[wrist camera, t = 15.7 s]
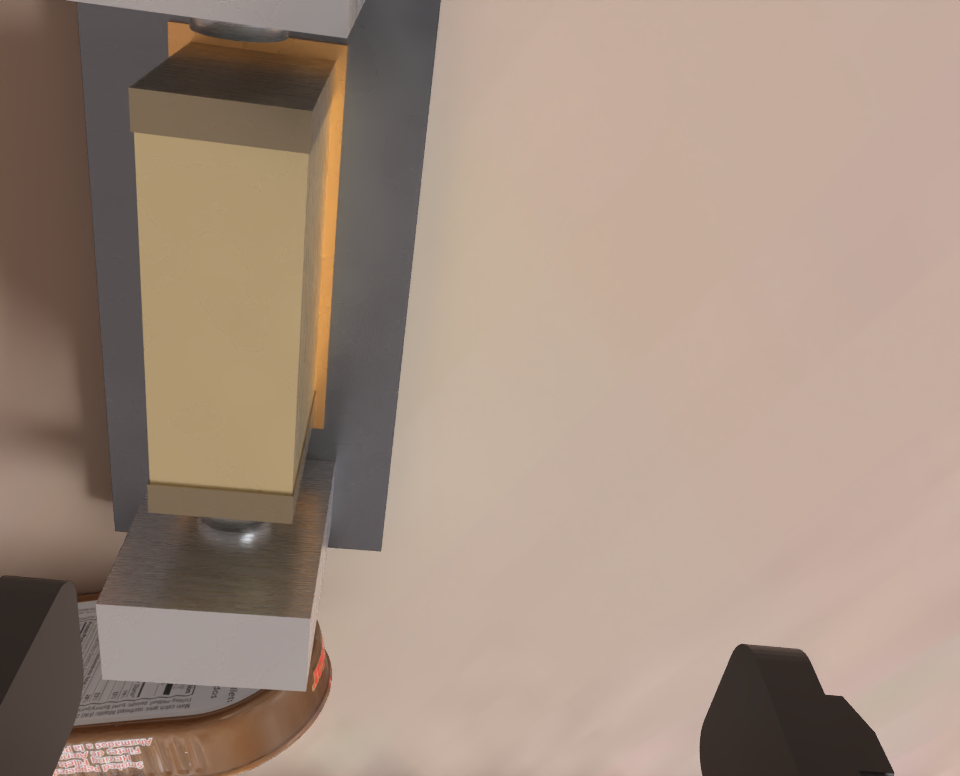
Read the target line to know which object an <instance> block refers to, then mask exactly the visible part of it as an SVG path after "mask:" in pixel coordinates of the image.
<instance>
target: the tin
mask: <svg viewBox="0 0 960 776" xmlns="http://www.w3.org/2000/svg"><path fill="white" fill-rule="evenodd" d="M100 594H101V593H94V594H84V595H77V603H78V613H79V624H80V635H81V646H82V657H83V668H84V680H83V689H82V696H81V701H80V705H79V710H78V713H77V717H76V720H75V723H74V725H73V728H72V730H71V733H70V735H69V738H68V740H67V742H66V745H65V747H64V749H63V752H62V754H61V757H60V759H59V761H58V764H57V766H56V769H55V771H54V773H53V776H235V775H238V774H241V773H243V772H246V771H249V770H251V769H253V768H255V767H258V766H259V765H261V764H263V763H265V762H267V761H268V760H270V759H272V758H274V757H275V756H277V755H278V754H280V753H281V752H282V751H284V750H286V749H287V748H288V747H290V746H291V745H292V744H293V743H294V742H295V741H296V740H298V739H299V738H300V737H301V736H302V735H303V734H304V733H305V732H306V731H307V730H308V729H309V727H310V726H311V725H312V724H313V723H314V721H315V720H316V718H317V717H318V715H319V713H320V712H321V710H322V709H323V706H324V704H325V703H326V700H327V697H328V695H329V692H330V687H331V681H332V668H331V662H330V659H329V656H328V654H327V652H326V650H325V648H324V643H323V638H322V634H321V630H320V626H319V623H318V621H316V628H315V634H314V641H313V648H312V654H311V661H310V668H309V674H308V681H307V688H306V692H305V691H288V690H271V689H254V688H238V687H221V686H204V685H187V684H170V683H153V682H136V681H119V680H103V679H102V668H101V657H100V646H99V635H98V624H97V613H96V602H97V600H98V598H99V596H100Z"/></svg>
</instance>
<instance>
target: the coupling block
mask: <svg viewBox="0 0 960 776" xmlns="http://www.w3.org/2000/svg"><path fill="white" fill-rule="evenodd" d="M335 70H336V61H328V60H321V59H314V58H306V57H299V56H291V55H284V54H277V53H269V52H262V51H254V50H247V49H240V48H232V47H225V46H217V45H210V44H203V43H195V42H189V43H188V44H186V45H185V46H184V47H182V48H181V49H180V50H178V51H177V52H176V53H174V54H173V55H172V56H170V57H169V58H167V59H166V60H165V61H163V62H162V63H161V64H159V65H158V66H157V67H155V68H154V69H153V70H151V71H150V72H149V73H147V74H146V75H145V76H143V77H142V78H140V79H139V80H138V81H136V82H135V83H134V84H132V85H131V86H130V87H128V90H129V112H130V132H134V144H135V166H136V188H137V210H138V233H139V255H140V277H141V299H142V321H143V343H144V365H145V387H146V409H147V431H148V454H149V476H150V479H149V481H148V484H147V494H148V513H160V514H172V515H185V516H197V517H210V518H222V519H235V520H247V521H260V522H272V523H285V524H292V522H293V518H294V513H295V508H296V503H297V498H298V494H299V489H300V484H301V479H302V475H303V470H304V465H305V460H306V455H307V451H308V446H309V441H310V436H311V432H312V427H313V422H314V417H315V405H316V391H315V380H316V363H317V346H318V329H319V312H320V295H321V278H322V261H323V244H324V227H325V210H326V193H327V176H328V159H329V142H330V125H331V108H332V100H333V98H334V87H335Z"/></svg>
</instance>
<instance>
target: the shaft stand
mask: <svg viewBox="0 0 960 776" xmlns="http://www.w3.org/2000/svg"><path fill="white" fill-rule="evenodd" d="M68 1H76V2H77V11H78V25H79V39H80V53H81V67H82V80H83V94H84V108H85V122H86V136H87V149H88V163H89V177H90V191H91V205H92V218H93V232H94V246H95V260H96V274H97V287H98V301H99V315H100V329H101V342H102V356H103V370H104V384H105V398H106V411H107V425H108V439H109V453H110V467H111V480H112V494H113V508H114V522H115V531H120V532H128V534H127V536H126V538H125V540H124V543H123V545H122V547H121V549H120V552H119V554H118V556H117V558H116V560H115V563H114V565H113V567H112V569H111V571H110V574H109V576H108V578H107V580H106V583H105V585H104V587H103V589H102V591H101V594H100V596H99V598H98V600H97V602H96V613H97V624H98V635H99V646H100V657H101V668H102V679H103V680H119V681H136V682H153V683H170V684H187V685H204V686H221V687H238V688H254V689H271V690H288V691H305V692H306V688H307V681H308V674H309V668H310V661H311V654H312V648H313V641H314V634H315V628H316V621H317V614H318V608H319V601H320V595H321V588H322V581H323V575H324V568H325V561H326V555H327V548H328V547H330V548H343V549H356V550H370V551H381V547H382V538H383V529H384V519H385V510H386V501H387V492H388V483H389V473H390V464H391V455H392V446H393V436H394V427H395V418H396V409H397V399H398V390H399V381H400V372H401V362H402V353H403V344H404V335H405V325H406V316H407V307H408V298H409V288H410V279H411V270H412V261H413V251H414V242H415V233H416V224H417V215H418V205H419V196H420V187H421V178H422V168H423V159H424V150H425V141H426V131H427V122H428V113H429V104H430V94H431V85H432V76H433V67H434V57H435V48H436V39H437V30H438V20H439V11H440V2H441V0H68ZM189 42H195V43H203V44H210V45H217V46H225V47H232V48H240V49H247V50H254V51H262V52H269V53H277V54H284V55H291V56H299V57H306V58H314V59H321V60H328V61H336V70H335V87H334V98H333V100H332V108H331V125H330V142H329V159H328V176H327V193H326V210H325V227H324V244H323V261H322V278H321V295H320V312H319V329H318V346H317V363H316V380H315V391H316V405H315V417H314V422H313V427H312V432H311V436H310V441H309V446H308V451H307V455H306V460H305V465H304V470H303V475H302V479H301V484H300V489H299V494H298V498H297V503H296V508H295V513H294V518H293V522H292V524H285V523H272V522H260V521H247V520H235V519H222V518H210V517H197V516H185V515H172V514H160V513H148V494H147V484H148V481H149V479H150V476H149V454H148V431H147V409H146V387H145V365H144V343H143V321H142V299H141V277H140V255H139V233H138V210H137V188H136V166H135V144H134V132H130V112H129V90H128V87H130V86H131V85H132V84H134V83H135V82H136V81H138V80H139V79H140V78H142V77H143V76H145V75H146V74H147V73H149V72H150V71H151V70H153V69H154V68H155V67H157V66H158V65H159V64H161V63H162V62H163V61H165V60H166V59H167V58H169V57H170V56H172V55H173V54H174V53H176V52H177V51H178V50H180V49H181V48H182V47H184V46H185V45H186V44H188V43H189Z"/></svg>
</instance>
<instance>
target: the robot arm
mask: <svg viewBox="0 0 960 776" xmlns="http://www.w3.org/2000/svg"><path fill="white" fill-rule="evenodd" d="M83 680H84V668H83V657H82V646H81V635H80V624H79V613H78V603H77V593H76V588H75V585H74V583H73V582H71V581H62V580H51V579H40V578H29V577H18V576H7V575H5V576H2V577H1V578H0V776H53V773H54V771H55V769H56V766H57V764H58V761H59V759H60V757H61V754H62V752H63V749H64V747H65V745H66V742H67V740H68V738H69V735H70V733H71V730H72V728H73V725H74V723H75V720H76V717H77V713H78V710H79V705H80V701H81V696H82V689H83ZM700 764H701V771H702V775H703V776H894V771H893V769H892V767H891V765H890V763H889V761H888V759H887V757H886V755H885V752H884V750H883V748H882V746H881V744H880V742H879V740H878V738H877V736H876V734H875V732H874V731H873V730H872V729H871V728H870V727H869V725H868V724H867V723H866V722H865V721H864V720H863V719H862V718H861V717H860V715H859V714H858V713H857V712H856V711H855V710H854V709H853V708H852V706H851V705H850V704H849V703H848V702H847V701H846V700H845V699H844V698H843V696H834V695H825V694H824V691H823V689H822V687H821V685H820V682H819V680H818V678H817V675H816V673H815V671H814V669H813V666H812V664H811V662H810V660H809V658H808V657H807V655H806V654H805V653H804V652H803V651H802V650H800V649H793V648H782V647H771V646H759V645H748V644H740V645H738V646H737V647H736V648H735V650H734V651H733V653H732V655H731V657H730V660H729V662H728V665H727V667H726V669H725V672H724V674H723V677H722V679H721V681H720V684H719V686H718V689H717V691H716V693H715V696H714V698H713V701H712V703H711V705H710V708H709V710H708V713H707V715H706V717H705V720H704V723H703V726H702V730H701V736H700Z"/></svg>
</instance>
